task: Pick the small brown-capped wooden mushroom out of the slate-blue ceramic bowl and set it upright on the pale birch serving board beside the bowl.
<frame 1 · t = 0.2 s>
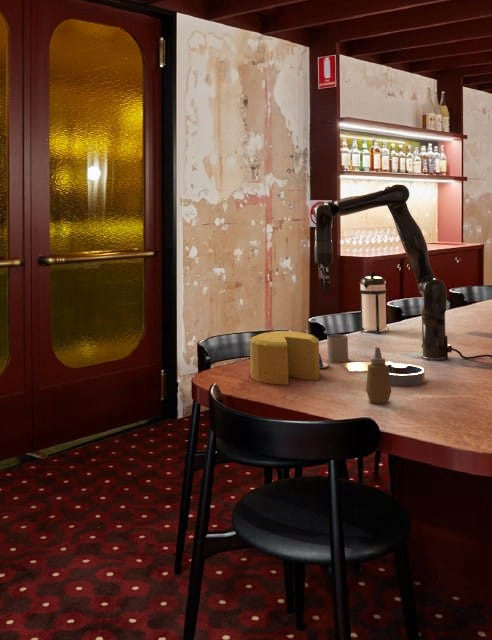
hand: (324, 290, 299), 29 cm above the table, tool pointing down, fingers open, 8 cm apart
board: (371, 368, 283), on the table
mushroom: (399, 380, 262), point 1 cm above the table, touching bowl
pudding: (313, 367, 289), on the table
coffee press: (374, 331, 363), on the table
cheese: (285, 376, 275), on the table
cup: (338, 361, 299), on the table
squeeze bottle: (378, 402, 237), on the table
bowl: (399, 381, 262), on the table
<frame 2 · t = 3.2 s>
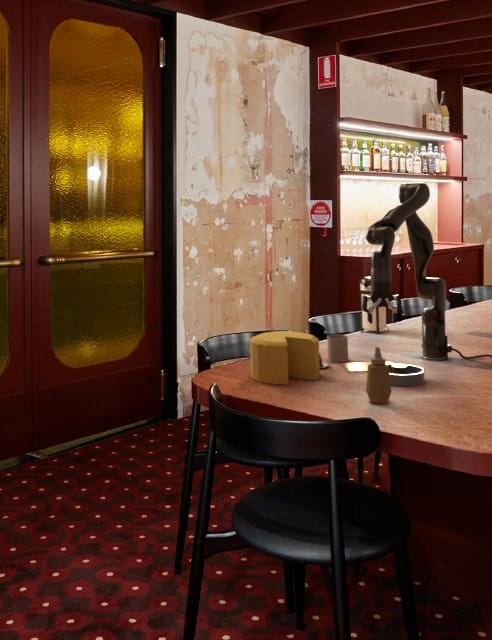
hand: (382, 323, 269), 20 cm above the table, tool pointing down, fingers open, 8 cm apart
nothing on the table moved.
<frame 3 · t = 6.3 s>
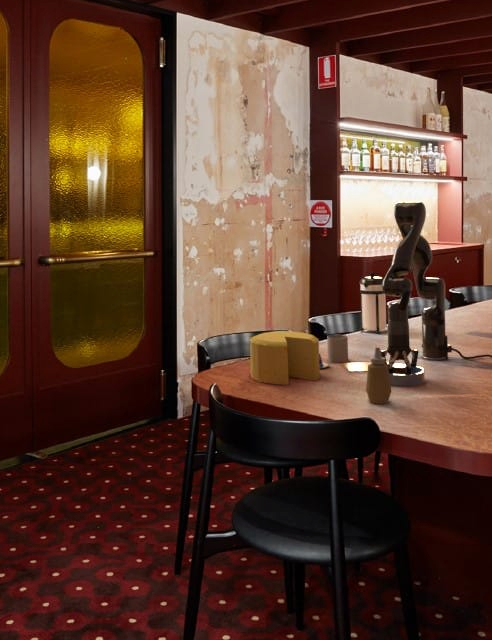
hand: (399, 378, 262), 1 cm above the table, tool pointing down, fingers closed on mushroom, 5 cm apart
mushroom: (399, 380, 262), point 1 cm above the table, touching bowl, gripper
everything else where it was.
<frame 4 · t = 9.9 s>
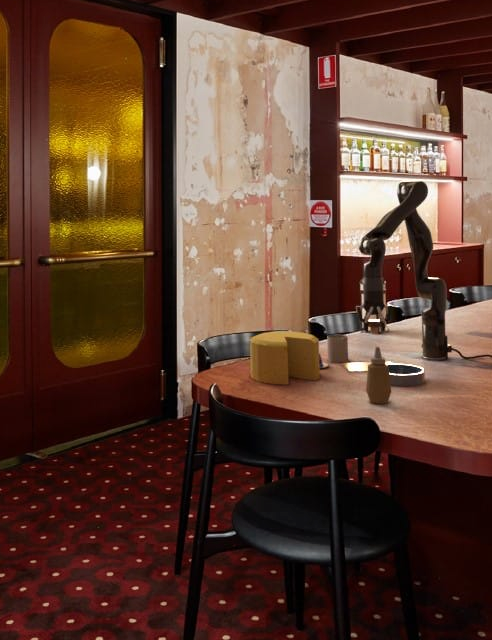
hand: (374, 332, 280), 15 cm above the table, tool pointing down, fingers closed on mushroom, 5 cm apart
mushroom: (374, 333, 280), point 14 cm above the table, touching gripper
everything else where it was.
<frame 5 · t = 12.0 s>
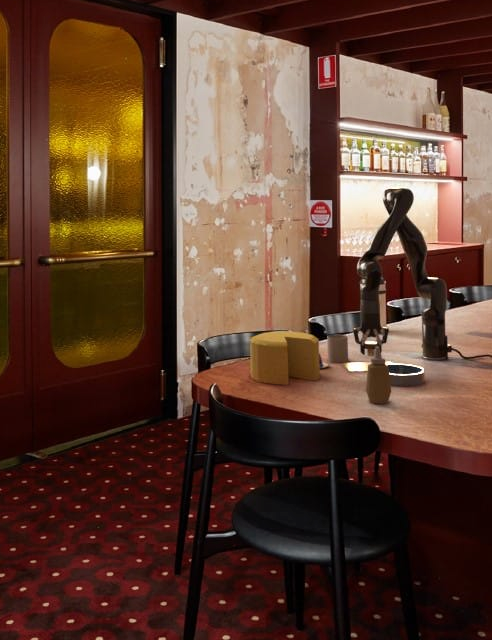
hand: (371, 354, 283), 6 cm above the table, tool pointing down, fingers closed on mushroom, 5 cm apart
mushroom: (371, 355, 283), point 5 cm above the table, touching gripper
everything else where it was.
when the fingers open (2 cm above the table, at t = 13.6 s): mushroom stays where it is, resting on board.
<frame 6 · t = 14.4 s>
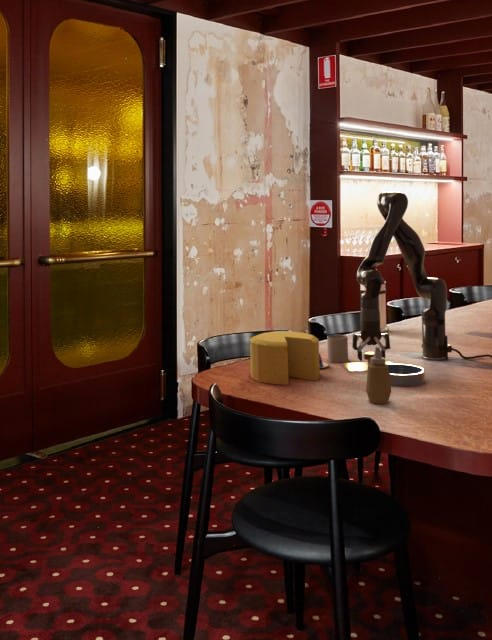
hand: (371, 360, 283), 3 cm above the table, tool pointing down, fingers open, 8 cm apart
mushroom: (371, 366, 283), point 1 cm above the table, touching board
everything else where it was.
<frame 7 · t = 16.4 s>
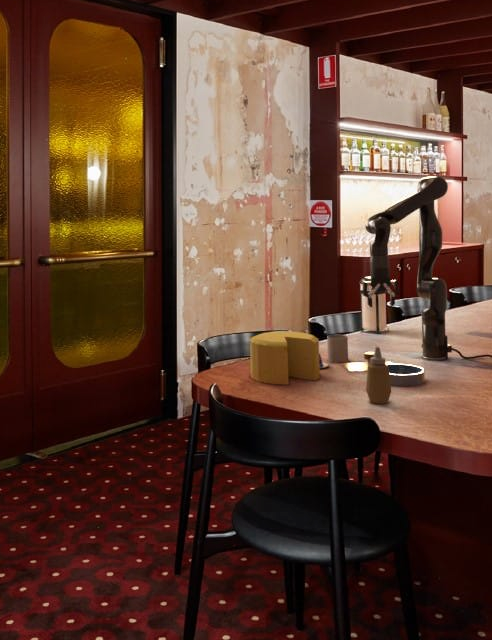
hand: (381, 306, 291), 23 cm above the table, tool pointing down, fingers open, 8 cm apart
nothing on the table moved.
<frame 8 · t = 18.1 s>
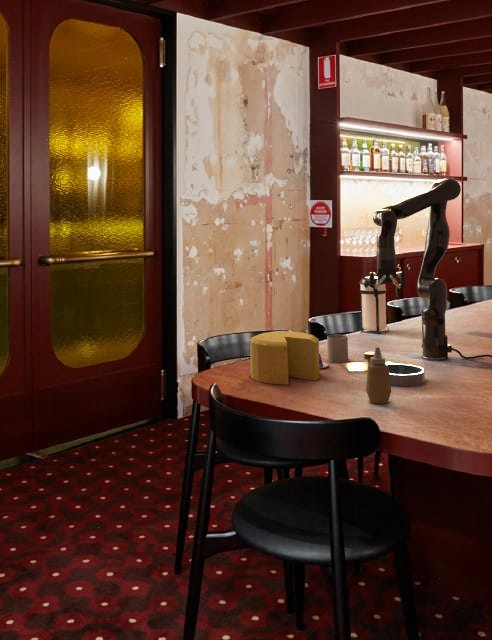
hand: (387, 297, 295), 26 cm above the table, tool pointing down, fingers open, 8 cm apart
nothing on the table moved.
at the end: mushroom inside the target area on the board (0.1 cm from its centre), point 1.0 cm above the board's base; mushroom tilted 0°; the gripper is holding nothing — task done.
